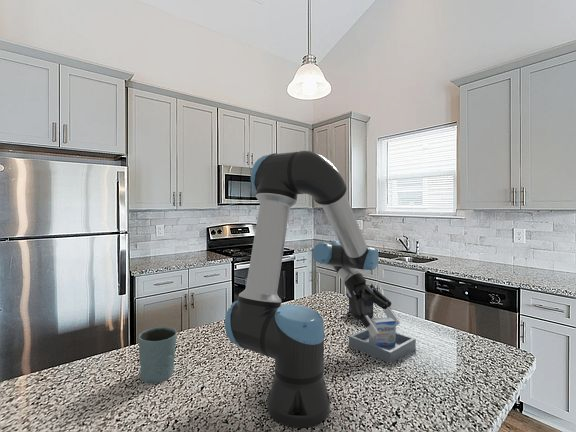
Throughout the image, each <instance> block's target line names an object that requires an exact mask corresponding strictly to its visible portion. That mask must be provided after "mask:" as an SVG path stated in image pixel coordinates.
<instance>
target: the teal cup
mask: <svg viewBox="0 0 576 432" xmlns="http://www.w3.org/2000/svg"><path fill="white" fill-rule="evenodd" d="M177 331H178V330H176V329H175V328H172V327H166V326H165V327H164V326H162V327H152V328H149V329H146V330H144V331H142V332H140V333H139V334H138V335H137V336H138V337H137V338H138V339H137V341H138V351H139V352H138V353H139V355H138V358H139V366H140V368H139V372H140V373H139V374H140V375H139V376H140V380H141V381H142V382H143V383H145V384H159V383H162V382H164V381H168V379H170V378H171V377H172V375H174V374H173V373H174V365H175V358H176V357H175V355H176V343H177V336H178V332H177Z"/></svg>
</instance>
